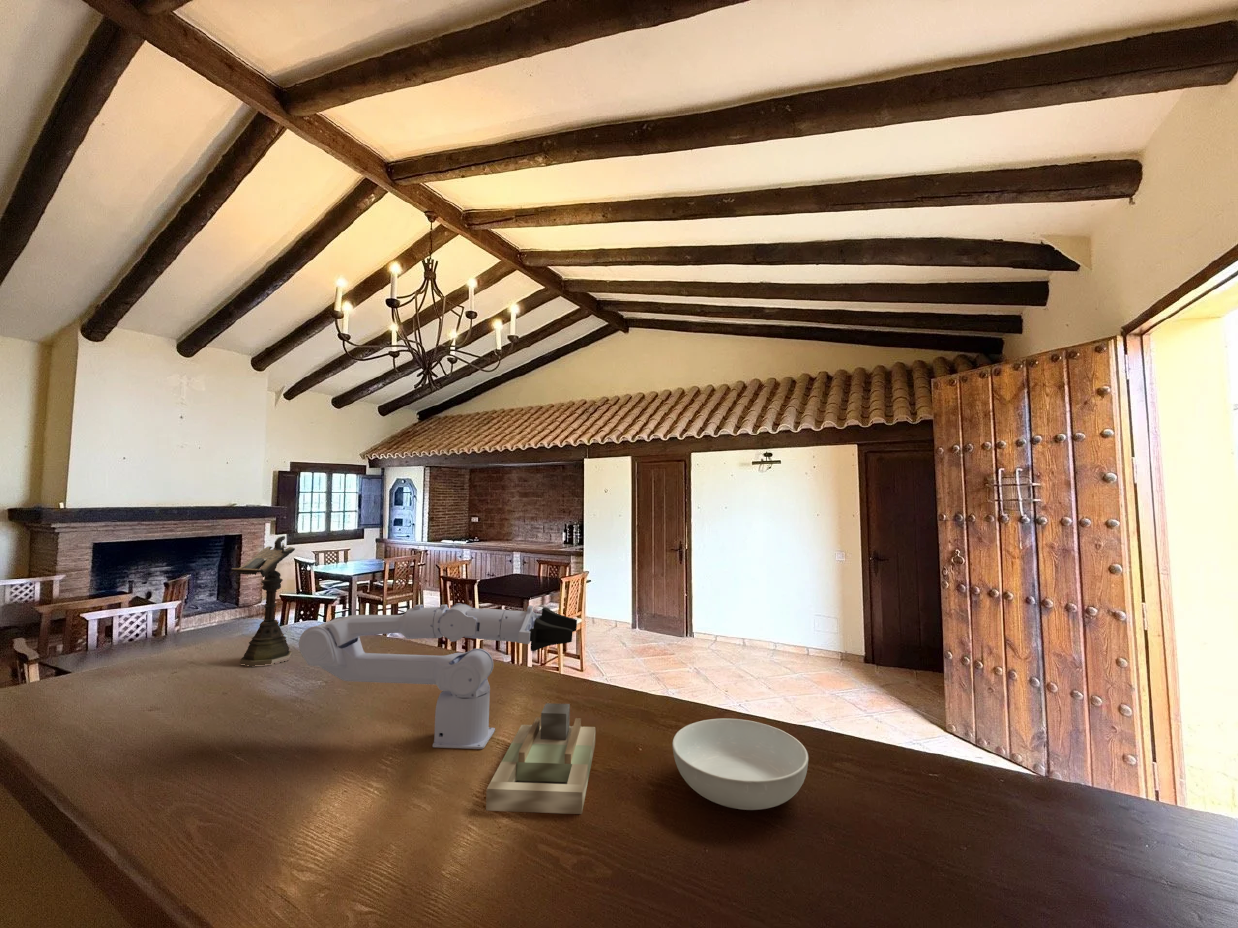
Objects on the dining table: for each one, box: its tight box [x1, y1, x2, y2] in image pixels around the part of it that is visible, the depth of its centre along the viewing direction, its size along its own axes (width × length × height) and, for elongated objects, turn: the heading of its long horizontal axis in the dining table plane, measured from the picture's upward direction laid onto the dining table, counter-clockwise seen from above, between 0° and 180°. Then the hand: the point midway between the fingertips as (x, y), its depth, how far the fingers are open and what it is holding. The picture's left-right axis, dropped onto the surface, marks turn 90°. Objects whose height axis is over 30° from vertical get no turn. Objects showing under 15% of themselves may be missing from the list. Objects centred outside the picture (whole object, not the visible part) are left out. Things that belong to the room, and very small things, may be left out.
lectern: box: [229, 535, 296, 666], centre depth 142 cm, size 17×13×35 cm
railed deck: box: [485, 716, 596, 815], centre depth 85 cm, size 14×22×4 cm, turn 178°
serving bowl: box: [671, 717, 809, 811], centre depth 81 cm, size 21×21×7 cm
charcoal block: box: [540, 702, 571, 740], centre depth 93 cm, size 4×4×4 cm
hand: (574, 630), depth 98 cm, fingers open, 7 cm apart
